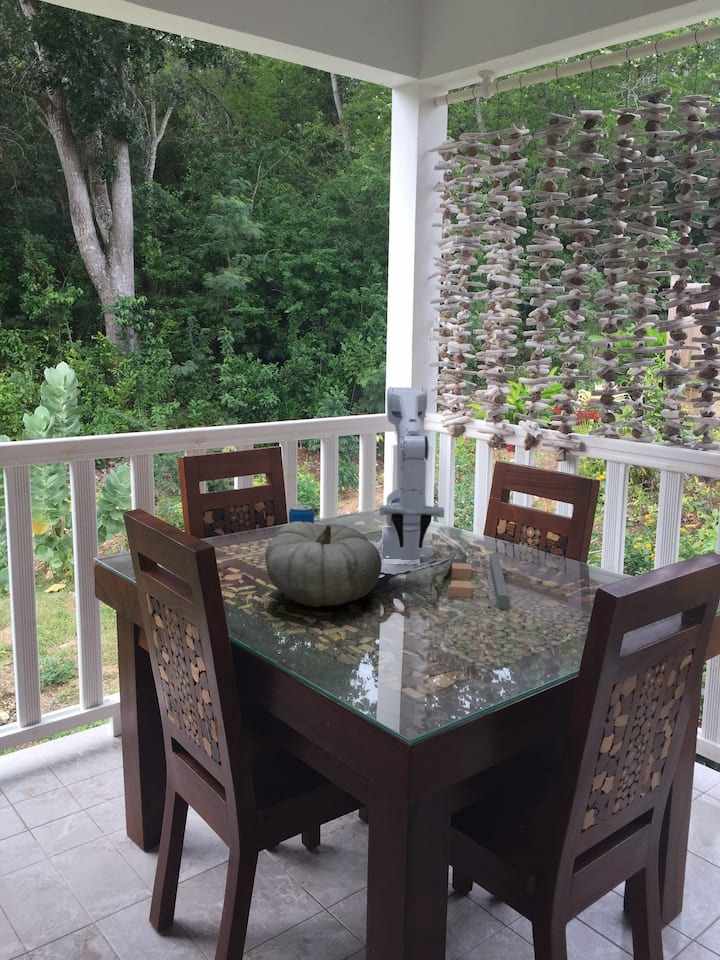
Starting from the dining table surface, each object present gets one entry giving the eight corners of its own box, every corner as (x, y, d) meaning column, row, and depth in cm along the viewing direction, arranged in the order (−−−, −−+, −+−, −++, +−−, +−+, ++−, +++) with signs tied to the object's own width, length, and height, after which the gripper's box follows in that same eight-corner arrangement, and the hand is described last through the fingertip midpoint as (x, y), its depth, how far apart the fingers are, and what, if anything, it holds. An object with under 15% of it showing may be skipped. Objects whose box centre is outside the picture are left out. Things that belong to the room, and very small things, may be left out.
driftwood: (436, 610, 171) (437, 588, 170) (424, 609, 171) (425, 586, 170) (457, 562, 206) (458, 543, 205) (447, 561, 206) (448, 542, 205)
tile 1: (450, 597, 180) (450, 586, 179) (450, 591, 184) (451, 580, 184) (471, 598, 179) (471, 587, 179) (471, 592, 183) (471, 581, 183)
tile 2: (451, 578, 193) (452, 568, 193) (451, 573, 197) (452, 563, 197) (471, 579, 192) (471, 569, 192) (470, 573, 197) (471, 563, 196)
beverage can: (318, 551, 214) (319, 506, 211) (304, 557, 208) (304, 511, 206) (298, 547, 217) (298, 503, 215) (283, 553, 212) (283, 507, 210)
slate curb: (497, 608, 172) (498, 595, 171) (489, 565, 203) (490, 553, 203) (507, 609, 172) (508, 595, 171) (497, 565, 203) (498, 554, 202)
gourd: (298, 627, 160) (298, 541, 157) (242, 592, 180) (241, 515, 177) (401, 605, 174) (403, 525, 170) (339, 574, 194) (339, 503, 191)
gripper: (379, 490, 182) (378, 549, 185) (444, 492, 181) (442, 552, 183) (381, 484, 189) (380, 541, 192) (444, 486, 188) (442, 544, 190)
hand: (411, 546), depth 188 cm, fingers open, 4 cm apart
